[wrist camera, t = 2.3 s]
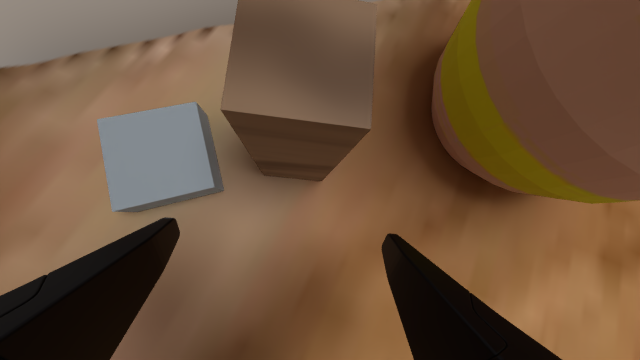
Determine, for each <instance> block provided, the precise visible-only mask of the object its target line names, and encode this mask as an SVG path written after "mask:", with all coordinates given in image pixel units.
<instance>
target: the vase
mask: <svg viewBox="0 0 640 360" xmlns="http://www.w3.org/2000/svg"><path fill="white" fill-rule="evenodd" d="M431 111H432V119H433V124H434V127H435V131H436V134H437V136H438V138H439V140H440V142H441V143H442V145H443V147H444V148H445V149H446V151H447V152H448V153H449V155H450V156H451V157H452V158H453V159H454V160H456V161H457V162H458V163H459V164H460V165H461V166H463V167H464V168H466V169H468V170H469V171H471V172H472V173H474V174H476V175H478V176H480V177H481V178H483V179H485V180H487V181H488V182H490V183H492V184H494V185H496V186H499V187H501V188H504V189H506V190H509V191H513V192H518V193H524V194H530V195H537V196H543V197H550V198H557V199H564V200H571V201H578V202H584V203H591V204H593V203H614V202H626V201H637V200H640V0H471V2H470V4H469V5H468V7H467V9H466V11H465V12H464V14H463V16H462V18H461V20H460V22H459V23H458V25H457V27H456V29H455V31H454V32H453V34H452V36H451V38H450V40H449V42H448V43H447V45H446V47H445V49H444V51H443V52H442V54H441V56H440V58H439V61H438V64H437V67H436V71H435V74H434V85H433V96H432V108H431Z"/></svg>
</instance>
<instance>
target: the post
mask: <svg viewBox="0 0 640 360" xmlns="http://www.w3.org/2000/svg"><path fill="white" fill-rule="evenodd" d="M376 17H377V4H374V3H369V2H364V1H359V0H238V4H237V11H236V16H235V23H234V29H233V35H232V41H231V47H230V54H229V60H228V66H227V72H226V78H225V85H224V91H223V97H222V103H221V111H222V113H223V114H224V116H225V117H226V119H227V120H228V122H229V123H230V125H231V126H232V128H233V129H234V131H235V132H236V134H237V135H238V137H239V138H240V140H241V141H242V143H243V144H244V146H245V147H246V149H247V150H248V152H249V153H250V155H251V156H252V158H253V159H254V161H255V162H256V164H257V166H258V167H259V169H260V170H261V172H262V173H263V175H266V176H276V177H286V178H296V179H306V180H315V181H322V180H323V179H324V178H325V177H326V176H327V175H328V174H329V173H330V172H331V171H332V170H333V169H334V168H335V167H336V166H337V165H338V164H339V162H340V161H341V160H342V159H343V158H344V157H345V156H346V155H347V154H348V153H349V152H350V151H351V150H352V149H353V148H354V147H355V146H356V144H357V143H358V142H359V141H360V140H361V139H362V138H363V137H364V136H365V135H366V134H367V133H368V132H369V131H370V130H371V120H372V99H373V79H374V58H375V38H376Z"/></svg>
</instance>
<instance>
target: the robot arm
mask: <svg viewBox="0 0 640 360" xmlns="http://www.w3.org/2000/svg"><path fill="white" fill-rule="evenodd" d="M179 236H180V231H179V228H178V224H177V221H176V219H175V218H166V217H165V218H162V219H160V220H158V221H156V222H154V223H152V224H150V225H147V226H145V227H143V228H141V229H139V230H137V231H135V232H133V233H131V234H129V235H127V236H125V237H123V238H121V239H119V240H117V241H114V242H112V243H110V244H108V245H106V246H104V247H102V248H100V249H98V250H96V251H94V252H92V253H90V254H88V255H86V256H83V257H81V258H79V259H77V260H75V261H73V262H71V263H69V264H67V265H65V266H63V267H61V268H59V269H57V270H55V271H52V272H50V273H49V274H48V275H43V276H41V277H39V278H37V279H35V280H33V281H31V282H29V283H27V284H25V285H23V286H20V287H18V288H16V289H14V290H12V291H10V292H8V293H6V294H3V295H1V296H0V360H110V358H111V357H112V355H113V353H114V352H115V350H116V348H117V347H118V345H119V343H120V342H121V340H122V339H123V337H124V335H125V334H126V332H127V330H128V329H129V327H130V325H131V324H132V322H133V320H134V319H135V317H136V315H137V314H138V312H139V311H140V309H141V307H142V306H143V304H144V302H145V301H146V299H147V297H148V296H149V294H150V292H151V291H152V289H153V287H154V286H155V284H156V283H157V281H158V279H159V278H160V276H161V274H162V273H163V271H164V269H165V267H166V265H167V263H168V261H169V259H170V256H171V254H172V252H173V250H174V248H175V245H176V243H177V241H178V239H179ZM382 254H383V259H384V264H385V269H386V274H387V278H388V282H389V285H390V288H391V291H392V294H393V297H394V300H395V303H396V306H397V309H398V312H399V316H400V319H401V322H402V325H403V328H404V331H405V334H406V337H407V340H408V343H409V346H410V349H411V352H412V355H413V358H414V360H562V359H560V358H559V357H558V356H556V355H555V354H553V353H552V352H551V351H549V350H548V349H546V348H545V347H544V346H542V345H541V344H539V343H538V342H537V341H535V340H534V339H532V338H531V337H530V336H528V335H527V334H525V333H524V332H523V331H521V330H520V329H518V328H517V327H516V326H514V325H513V324H511V323H510V322H509V321H507V320H506V319H505V318H503V317H502V316H500V315H499V314H498V313H496V312H495V311H494V310H492V309H491V308H490V307H489V306H487V305H486V304H485V303H483V302H482V301H481V300H480V299H478V298H477V297H476V296H474V295H473V294H472V293H470V292H469V291H468V290H466V289H465V288H464V287H463V286H461V285H460V284H459V283H458V282H456V281H455V280H454V279H453V278H451V277H450V276H449V275H448V274H446V273H445V272H444V271H443V270H441V269H440V268H439V267H438V266H436V265H435V264H434V263H433V262H431V261H430V260H429V259H427V258H426V257H425V256H424V255H422V254H421V253H420V252H419V251H417V250H416V249H415V248H414V247H412V246H411V245H410V244H409V243H407V242H406V241H405V240H404V239H402V238H401V237H400V236H399V235H397V234H390V233H389V234H387V236H386V238H385V240H384V242H383V244H382Z"/></svg>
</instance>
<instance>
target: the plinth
mask: <svg viewBox="0 0 640 360" xmlns="http://www.w3.org/2000/svg"><path fill="white" fill-rule="evenodd" d="M97 122H98V128H99V135H100V141H101V147H102V153H103V159H104V165H105V171H106V177H107V183H108V189H109V195H110V201H111V207H112V212H139V211H143V210H147V209H151V208H155V207H159V206H163V205H167V204H172V203H176V202H180V201H184V200H188V199H192V198H196V197H200V196H204V195H209V194H213V193H217V192H221V191H224V187H223V183H222V178H221V174H220V169H219V165H218V161H217V156H216V152H215V147H214V143H213V138H212V134H211V129H210V125H209V120H208V116H207V115H206V113H205V112H204V111H203V110H202V109H201V107H200V106H199V105H198V104H197V103H196V102H192V103H186V104H180V105H175V106H169V107H164V108H158V109H152V110H147V111H141V112H136V113H130V114H125V115H119V116H113V117H108V118H102V119H97Z"/></svg>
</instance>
